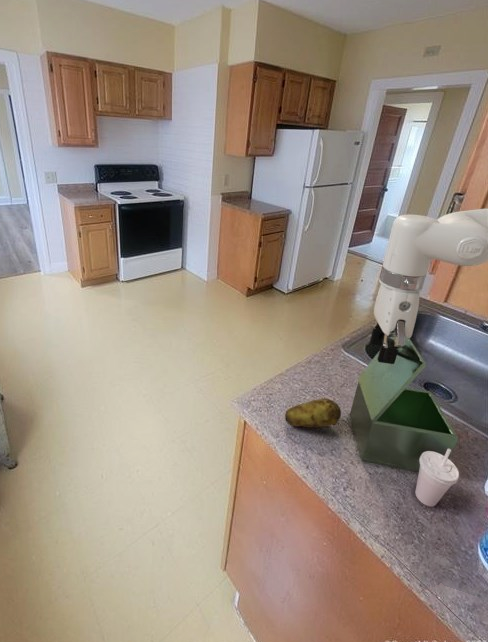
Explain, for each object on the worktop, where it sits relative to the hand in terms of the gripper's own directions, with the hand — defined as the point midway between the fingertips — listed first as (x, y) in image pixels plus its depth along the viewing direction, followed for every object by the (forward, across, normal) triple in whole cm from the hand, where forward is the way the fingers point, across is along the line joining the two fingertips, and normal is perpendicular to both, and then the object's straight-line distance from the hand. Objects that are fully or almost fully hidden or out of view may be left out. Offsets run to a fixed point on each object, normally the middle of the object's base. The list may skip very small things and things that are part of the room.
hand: (381, 352), depth 70 cm
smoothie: (+26, -12, -10) cm, 30 cm away
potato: (+26, +1, +12) cm, 28 cm away
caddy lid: (+5, 0, -3) cm, 6 cm away
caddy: (+26, 0, -8) cm, 27 cm away
